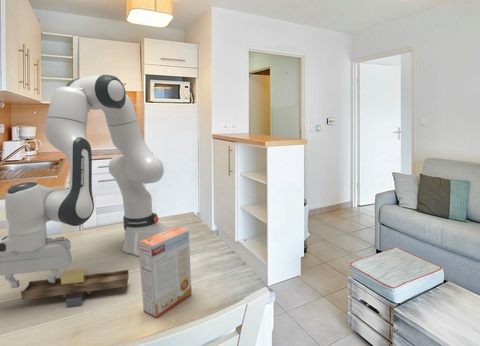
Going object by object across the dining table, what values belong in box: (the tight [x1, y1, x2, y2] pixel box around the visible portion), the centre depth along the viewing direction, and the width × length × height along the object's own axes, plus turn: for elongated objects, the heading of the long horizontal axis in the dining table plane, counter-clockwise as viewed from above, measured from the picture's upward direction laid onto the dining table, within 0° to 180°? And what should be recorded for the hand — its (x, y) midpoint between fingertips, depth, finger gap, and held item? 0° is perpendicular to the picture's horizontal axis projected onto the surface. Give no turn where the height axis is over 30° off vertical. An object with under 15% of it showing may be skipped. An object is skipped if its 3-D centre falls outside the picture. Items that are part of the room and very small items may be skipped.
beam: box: [20, 269, 130, 301], centre depth 92 cm, size 28×6×4 cm, turn 105°
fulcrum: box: [65, 292, 87, 308], centre depth 92 cm, size 4×12×2 cm, turn 15°
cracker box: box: [138, 226, 192, 319], centre depth 87 cm, size 14×6×21 cm, turn 145°
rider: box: [60, 267, 88, 286], centre depth 91 cm, size 6×4×4 cm, turn 104°
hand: (34, 284), depth 88 cm, fingers open, 8 cm apart
